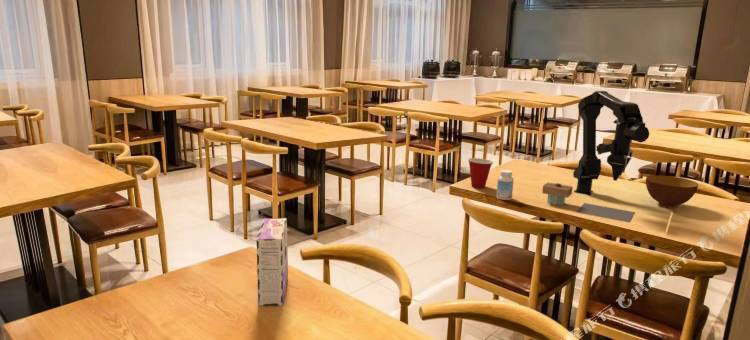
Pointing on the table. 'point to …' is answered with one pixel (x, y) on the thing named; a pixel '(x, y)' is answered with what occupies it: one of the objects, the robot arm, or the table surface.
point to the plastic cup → (479, 171)
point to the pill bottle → (505, 185)
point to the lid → (557, 189)
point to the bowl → (670, 190)
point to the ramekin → (556, 200)
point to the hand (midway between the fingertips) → (617, 177)
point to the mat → (606, 212)
